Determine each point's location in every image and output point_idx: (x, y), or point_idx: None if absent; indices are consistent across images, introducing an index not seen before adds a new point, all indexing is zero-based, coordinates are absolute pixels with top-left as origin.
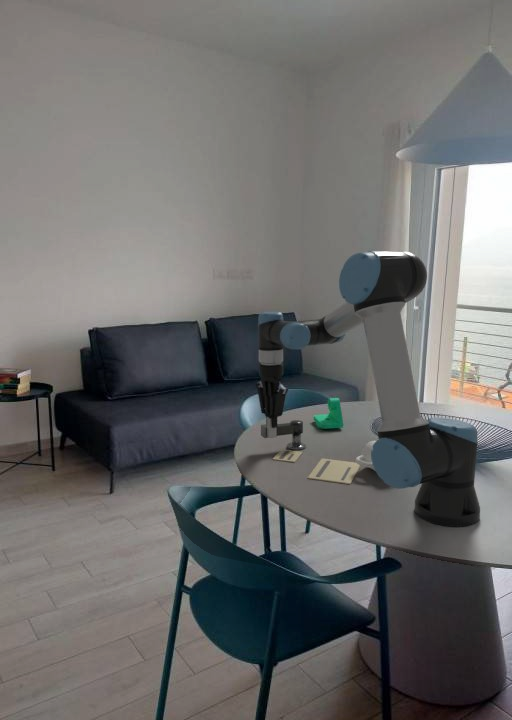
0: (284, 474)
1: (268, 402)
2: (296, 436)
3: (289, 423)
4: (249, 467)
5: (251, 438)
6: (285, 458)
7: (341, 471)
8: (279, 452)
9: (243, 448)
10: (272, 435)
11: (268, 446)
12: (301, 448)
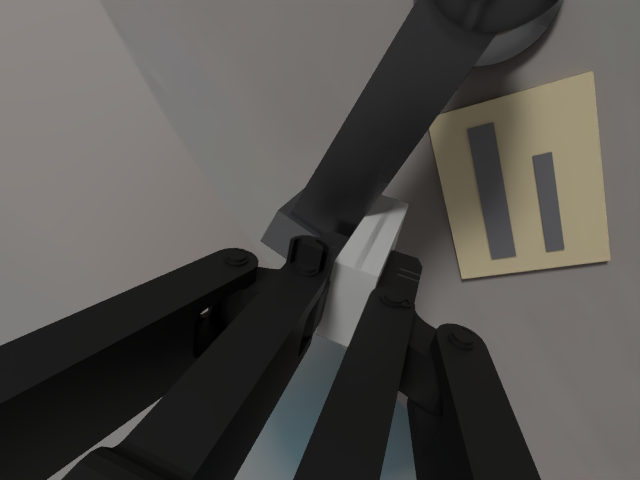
0: (622, 411)
1: (249, 442)
2: None
3: (429, 19)
4: None
5: (161, 51)
6: (529, 243)
7: None
8: (444, 176)
9: (243, 213)
10: (395, 244)
11: (320, 108)
12: (553, 17)
